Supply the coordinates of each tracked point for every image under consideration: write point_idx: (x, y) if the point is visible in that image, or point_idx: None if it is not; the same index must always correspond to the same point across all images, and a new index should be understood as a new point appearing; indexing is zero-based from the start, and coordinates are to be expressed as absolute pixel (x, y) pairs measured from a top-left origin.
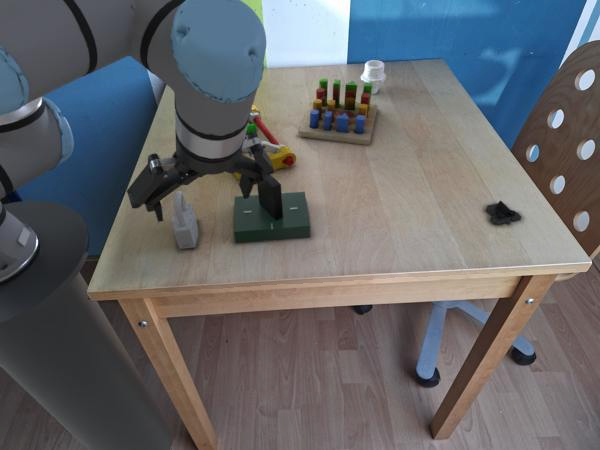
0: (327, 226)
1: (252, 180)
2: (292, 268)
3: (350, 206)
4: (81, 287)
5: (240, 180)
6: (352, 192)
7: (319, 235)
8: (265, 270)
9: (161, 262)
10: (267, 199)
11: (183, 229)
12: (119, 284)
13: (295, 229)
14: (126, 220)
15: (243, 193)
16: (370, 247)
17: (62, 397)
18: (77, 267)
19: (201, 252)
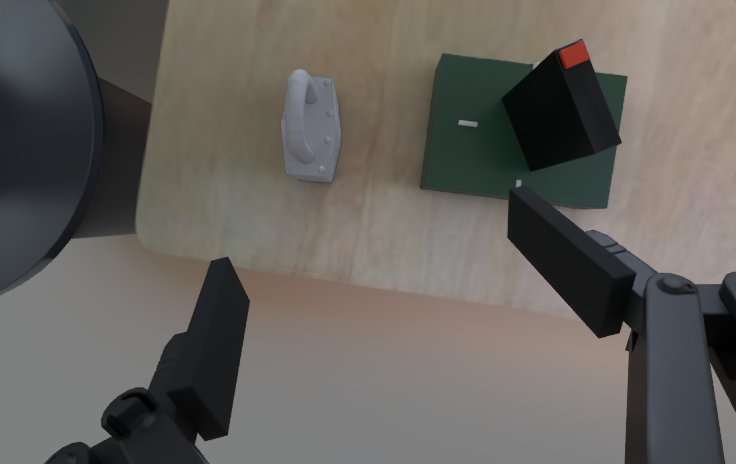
0: (631, 184)
1: (612, 331)
2: (525, 287)
3: (706, 129)
4: (127, 147)
5: (530, 211)
6: (730, 79)
7: None
8: (470, 279)
9: (260, 207)
10: (539, 131)
11: (308, 173)
12: (180, 247)
13: (567, 204)
14: (176, 52)
15: (516, 234)
16: (703, 269)
17: None
18: (87, 188)
19: (344, 198)
